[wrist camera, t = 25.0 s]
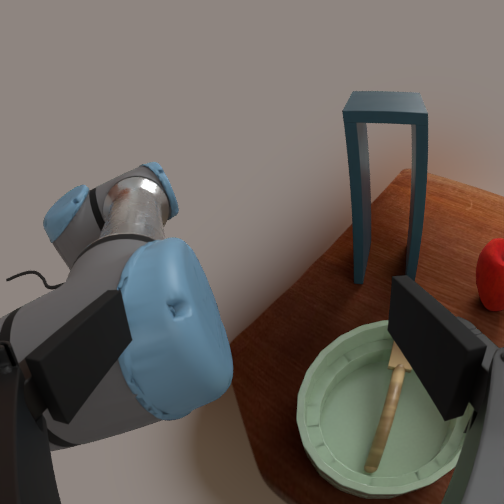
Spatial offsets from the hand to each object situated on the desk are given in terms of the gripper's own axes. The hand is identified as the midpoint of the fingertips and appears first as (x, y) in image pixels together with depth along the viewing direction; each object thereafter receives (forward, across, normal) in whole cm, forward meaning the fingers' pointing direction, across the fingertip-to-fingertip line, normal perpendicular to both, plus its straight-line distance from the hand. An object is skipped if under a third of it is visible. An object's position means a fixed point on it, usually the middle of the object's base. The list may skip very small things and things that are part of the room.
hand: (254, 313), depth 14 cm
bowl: (+14, +14, -22) cm, 29 cm away
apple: (+25, +35, -14) cm, 45 cm away
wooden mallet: (+13, +13, -19) cm, 27 cm away
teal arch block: (+37, +20, -10) cm, 44 cm away
